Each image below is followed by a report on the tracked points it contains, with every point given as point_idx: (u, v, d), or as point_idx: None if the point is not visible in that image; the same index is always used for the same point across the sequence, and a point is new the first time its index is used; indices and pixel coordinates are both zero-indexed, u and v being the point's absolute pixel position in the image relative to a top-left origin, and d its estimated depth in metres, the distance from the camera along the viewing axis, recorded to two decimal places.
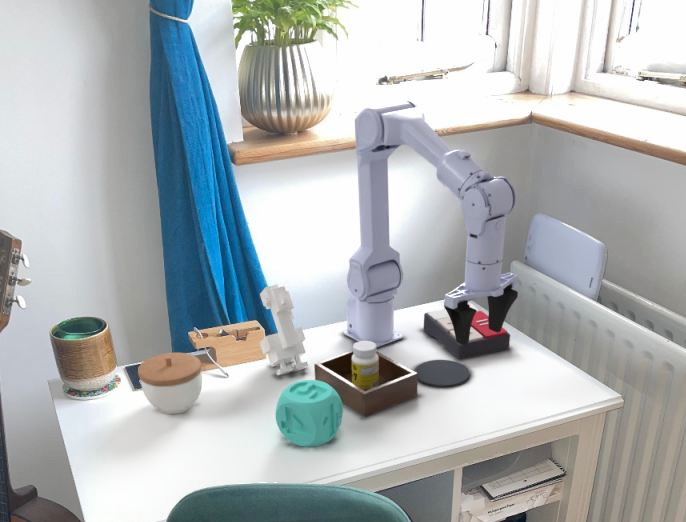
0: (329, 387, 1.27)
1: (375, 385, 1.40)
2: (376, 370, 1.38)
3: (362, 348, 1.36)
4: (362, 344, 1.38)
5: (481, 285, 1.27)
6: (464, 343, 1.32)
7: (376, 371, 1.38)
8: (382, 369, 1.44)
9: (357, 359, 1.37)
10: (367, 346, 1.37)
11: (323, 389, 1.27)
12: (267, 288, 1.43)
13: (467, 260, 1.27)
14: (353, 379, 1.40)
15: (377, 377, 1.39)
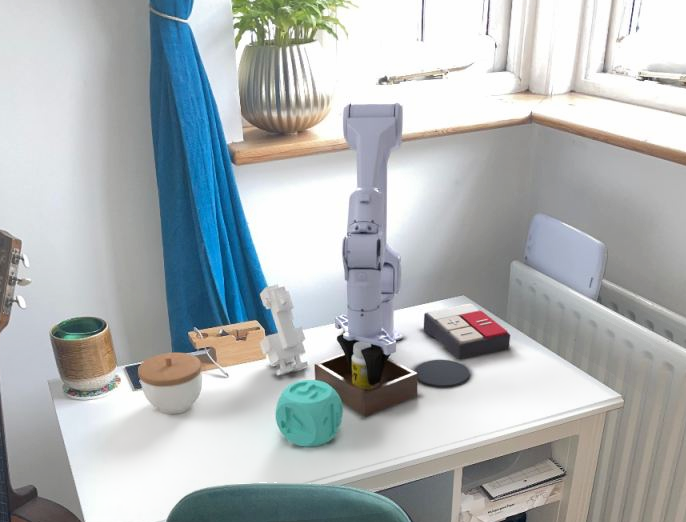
0: (329, 387, 1.27)
1: (375, 385, 1.39)
2: None
3: (362, 348, 1.36)
4: (362, 344, 1.38)
5: None
6: (350, 371, 1.42)
7: None
8: None
9: (357, 359, 1.37)
10: (367, 346, 1.37)
11: (323, 389, 1.27)
12: (267, 288, 1.43)
13: None
14: (353, 379, 1.40)
15: None
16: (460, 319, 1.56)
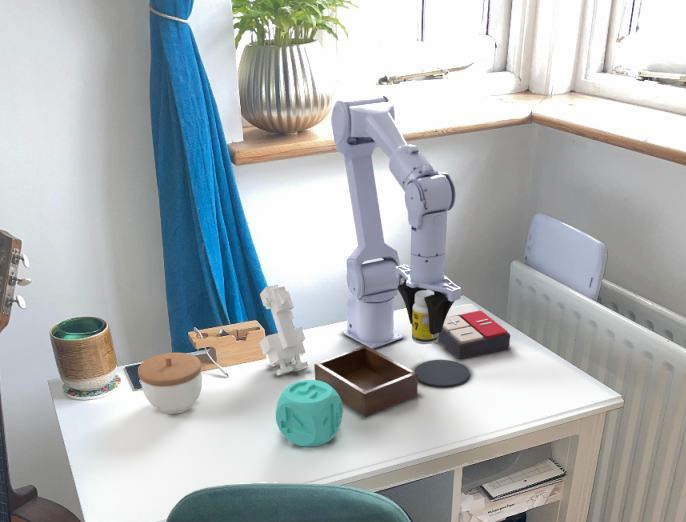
0: (329, 387, 1.27)
1: (435, 335, 1.38)
2: None
3: None
4: (423, 293, 1.36)
5: None
6: (410, 321, 1.41)
7: None
8: (382, 369, 1.44)
9: (418, 308, 1.36)
10: (429, 294, 1.36)
11: (323, 389, 1.27)
12: (267, 288, 1.43)
13: None
14: (414, 329, 1.39)
15: None
16: (460, 319, 1.56)
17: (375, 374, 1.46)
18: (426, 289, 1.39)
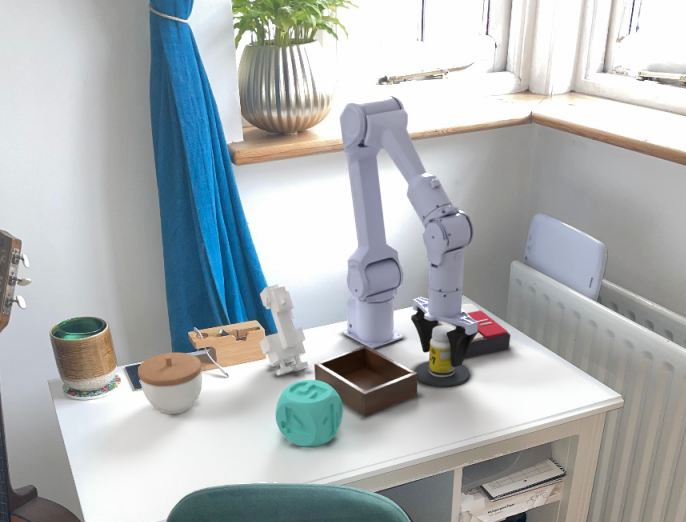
0: (329, 387, 1.27)
1: (452, 369, 1.43)
2: None
3: (441, 332, 1.40)
4: (440, 328, 1.41)
5: None
6: (422, 349, 1.46)
7: None
8: (382, 369, 1.44)
9: (436, 343, 1.41)
10: (446, 330, 1.41)
11: (323, 389, 1.27)
12: (267, 288, 1.43)
13: None
14: (431, 363, 1.44)
15: None
16: None
17: (375, 374, 1.46)
18: None
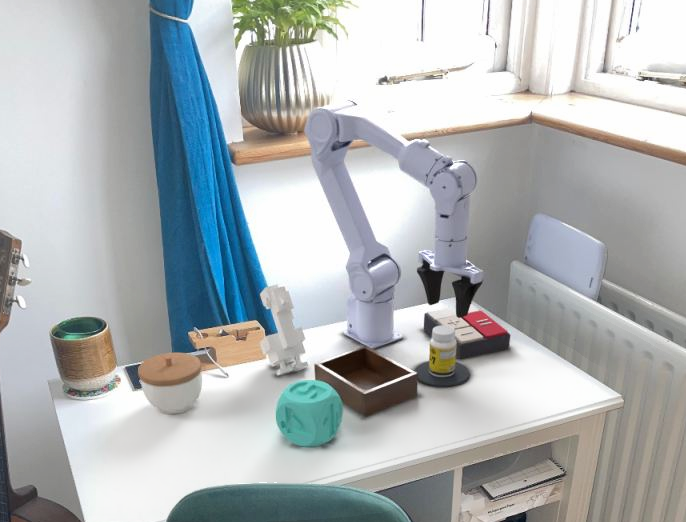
0: (329, 387, 1.27)
1: (452, 369, 1.43)
2: (454, 354, 1.42)
3: (441, 332, 1.40)
4: (440, 328, 1.41)
5: None
6: (428, 302, 1.49)
7: (454, 355, 1.42)
8: (382, 369, 1.44)
9: (436, 343, 1.41)
10: (446, 330, 1.41)
11: (323, 389, 1.27)
12: (267, 288, 1.43)
13: None
14: (431, 363, 1.44)
15: (454, 361, 1.43)
16: (460, 319, 1.56)
17: (375, 374, 1.46)
18: (443, 271, 1.47)
